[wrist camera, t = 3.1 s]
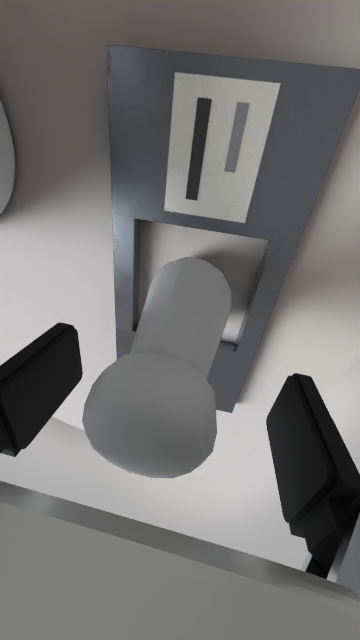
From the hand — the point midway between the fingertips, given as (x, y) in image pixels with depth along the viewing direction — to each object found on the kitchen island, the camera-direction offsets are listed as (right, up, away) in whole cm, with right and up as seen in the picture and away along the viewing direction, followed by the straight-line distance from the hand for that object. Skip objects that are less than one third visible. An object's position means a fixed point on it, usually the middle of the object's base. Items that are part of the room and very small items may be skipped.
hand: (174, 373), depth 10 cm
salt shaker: (+1, +5, +8) cm, 9 cm away
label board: (+1, +5, +8) cm, 9 cm away
